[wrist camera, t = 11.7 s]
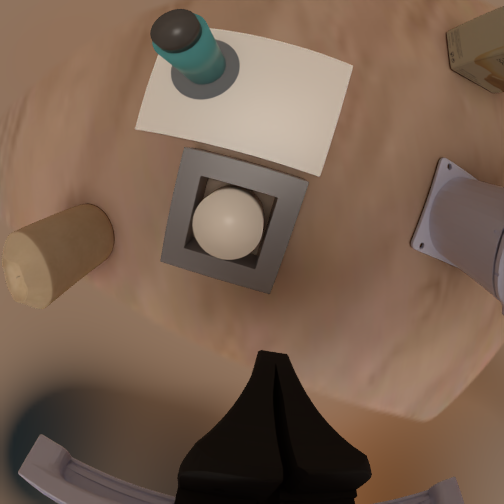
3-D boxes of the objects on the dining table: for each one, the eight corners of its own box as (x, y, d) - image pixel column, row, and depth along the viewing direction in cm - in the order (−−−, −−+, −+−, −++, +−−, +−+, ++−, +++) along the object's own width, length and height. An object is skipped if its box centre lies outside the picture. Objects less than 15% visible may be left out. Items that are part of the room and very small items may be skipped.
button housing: (303, 178, 19) (308, 182, 16) (269, 278, 22) (269, 294, 19) (195, 147, 18) (184, 147, 16) (172, 249, 21) (160, 261, 19)
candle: (63, 206, 20) (-18, 241, 11) (109, 199, 20) (21, 235, 11) (75, 263, 22) (6, 315, 13) (120, 262, 22) (50, 325, 13)
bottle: (231, 52, 15) (212, 7, 9) (217, 88, 16) (190, 55, 10) (192, 45, 15) (158, 4, 9) (179, 80, 16) (136, 50, 10)
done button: (271, 195, 19) (272, 202, 16) (254, 252, 21) (251, 267, 18) (211, 177, 19) (201, 182, 16) (197, 235, 20) (186, 248, 18)
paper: (352, 66, 16) (353, 65, 15) (319, 176, 19) (320, 177, 18) (171, 26, 15) (169, 24, 15) (136, 129, 18) (134, 129, 18)
